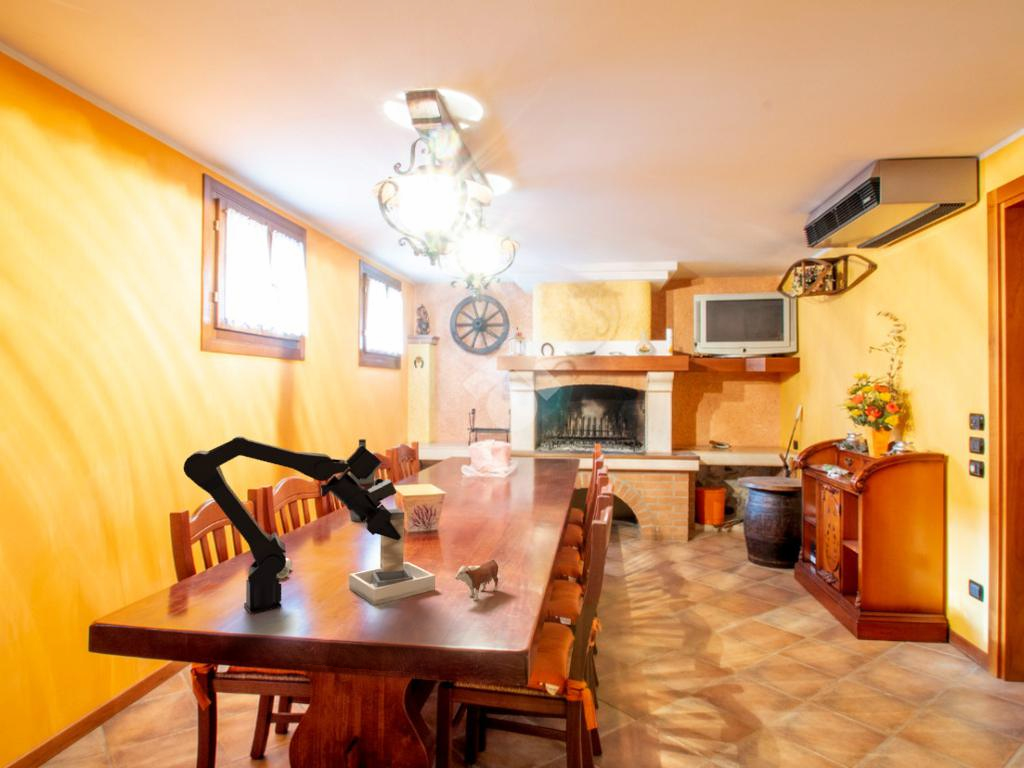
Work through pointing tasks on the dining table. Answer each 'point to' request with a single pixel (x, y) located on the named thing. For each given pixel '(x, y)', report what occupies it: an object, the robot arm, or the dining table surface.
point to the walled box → (391, 583)
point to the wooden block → (393, 544)
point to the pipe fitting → (285, 569)
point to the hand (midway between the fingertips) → (397, 536)
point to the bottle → (362, 482)
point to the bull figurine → (478, 576)
